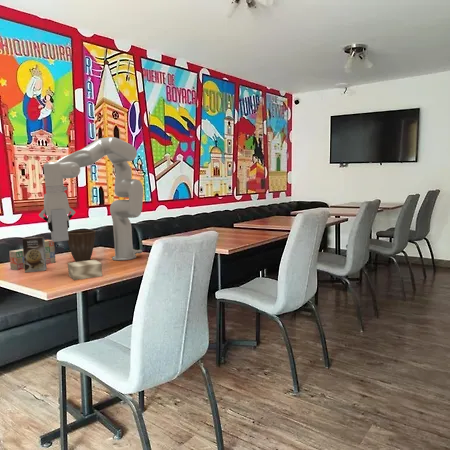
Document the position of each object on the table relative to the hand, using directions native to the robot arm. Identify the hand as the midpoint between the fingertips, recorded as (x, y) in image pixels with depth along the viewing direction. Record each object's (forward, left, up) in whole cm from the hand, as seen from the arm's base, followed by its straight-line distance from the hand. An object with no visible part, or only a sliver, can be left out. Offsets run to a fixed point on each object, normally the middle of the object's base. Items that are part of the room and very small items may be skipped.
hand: (59, 230), depth 188 cm
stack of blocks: (+7, -35, -21) cm, 41 cm away
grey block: (0, 0, -5) cm, 5 cm away
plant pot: (-16, -28, -21) cm, 38 cm away
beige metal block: (-8, +10, -21) cm, 24 cm away
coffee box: (+8, -20, -21) cm, 30 cm away
